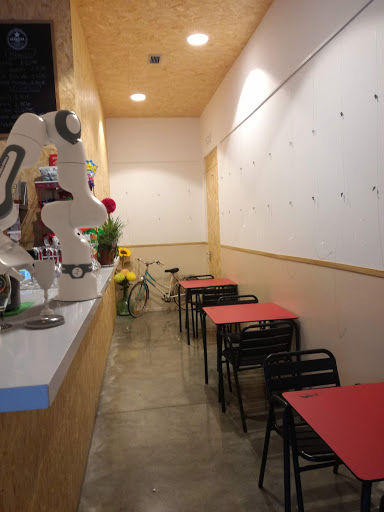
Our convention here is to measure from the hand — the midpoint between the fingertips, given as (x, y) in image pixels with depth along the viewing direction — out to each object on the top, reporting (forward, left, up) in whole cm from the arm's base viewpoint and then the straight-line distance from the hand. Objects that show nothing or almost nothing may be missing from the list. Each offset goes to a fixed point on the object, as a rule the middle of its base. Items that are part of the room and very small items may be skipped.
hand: (29, 277), depth 120 cm
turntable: (+11, +5, -13) cm, 18 cm away
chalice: (+1, +5, -13) cm, 14 cm away
